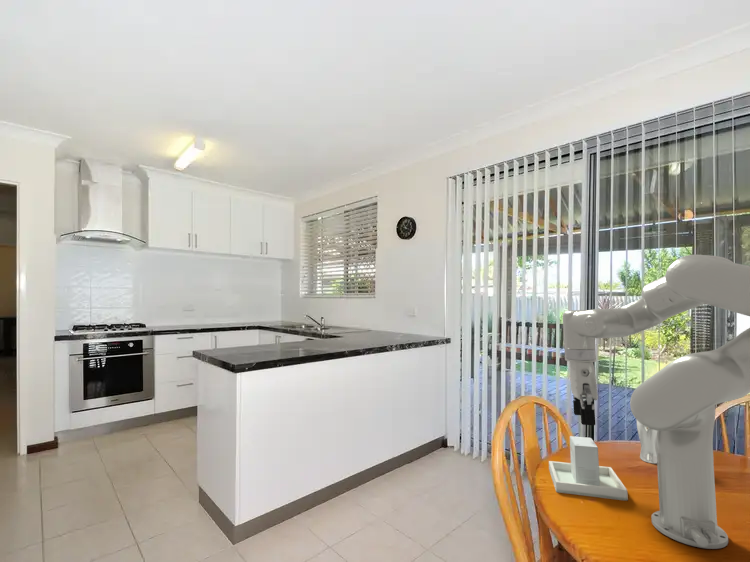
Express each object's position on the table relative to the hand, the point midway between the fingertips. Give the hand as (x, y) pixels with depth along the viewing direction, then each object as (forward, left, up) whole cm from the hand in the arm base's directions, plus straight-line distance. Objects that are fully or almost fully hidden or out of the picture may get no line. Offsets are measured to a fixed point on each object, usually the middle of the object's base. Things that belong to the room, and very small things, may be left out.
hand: (584, 419), depth 104 cm
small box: (+1, 0, -17) cm, 17 cm away
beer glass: (+23, -23, -17) cm, 37 cm away
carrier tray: (0, 0, -17) cm, 17 cm away
